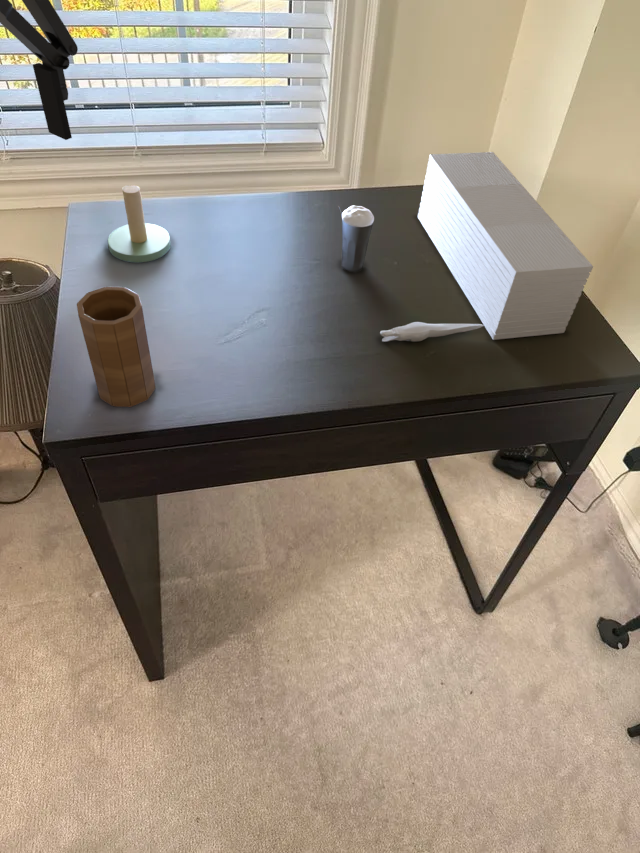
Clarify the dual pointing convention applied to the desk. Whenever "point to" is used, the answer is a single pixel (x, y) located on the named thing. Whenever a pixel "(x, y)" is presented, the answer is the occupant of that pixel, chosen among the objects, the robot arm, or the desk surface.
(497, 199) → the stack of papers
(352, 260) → the milkshake
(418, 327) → the white tapered spindle
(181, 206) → the desk surface
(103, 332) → the tube
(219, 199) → the desk surface
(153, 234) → the holder
